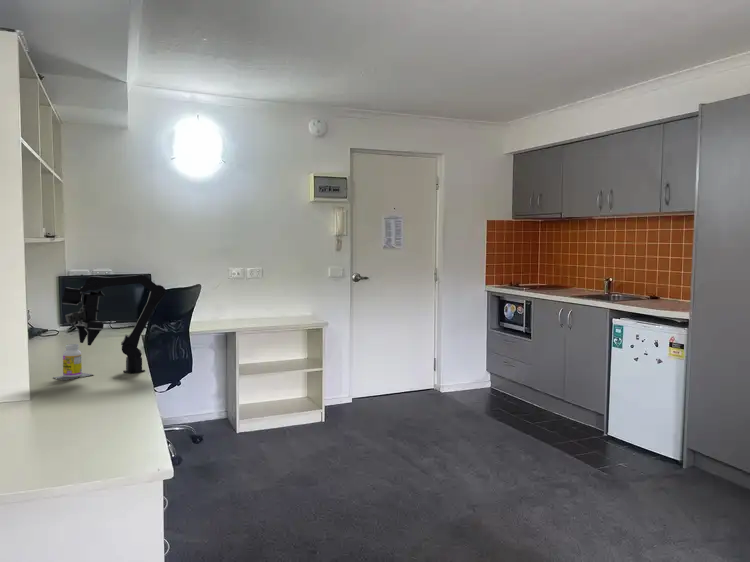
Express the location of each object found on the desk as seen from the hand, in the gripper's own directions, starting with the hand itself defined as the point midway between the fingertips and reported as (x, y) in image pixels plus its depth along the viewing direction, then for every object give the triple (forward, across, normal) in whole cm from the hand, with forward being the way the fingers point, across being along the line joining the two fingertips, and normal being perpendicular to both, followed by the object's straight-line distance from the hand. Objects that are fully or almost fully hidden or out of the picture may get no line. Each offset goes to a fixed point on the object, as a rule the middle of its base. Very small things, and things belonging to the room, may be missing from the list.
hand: (85, 344), depth 229 cm
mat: (+13, 0, -3) cm, 14 cm away
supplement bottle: (+13, 0, -3) cm, 14 cm away
